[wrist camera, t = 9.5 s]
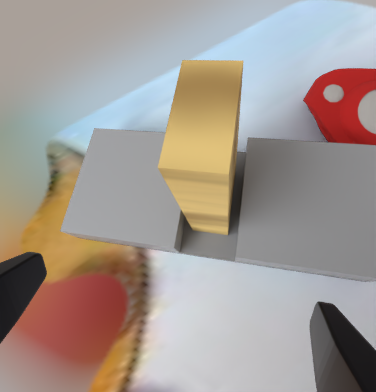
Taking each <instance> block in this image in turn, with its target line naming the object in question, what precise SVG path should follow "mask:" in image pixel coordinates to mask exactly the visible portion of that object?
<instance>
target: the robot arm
mask: <svg viewBox="0 0 376 392" xmlns="http://www.w3.org/2000/svg"><path fill="white" fill-rule="evenodd" d="M46 274H47V271H46V267H45V264H44V260H43V257H42V255H41V254H39V253H35V252H27V253H24V254H22V255H19V256H16V257H14V258H11V259H9V260H6V261H4V262H1V263H0V343H1V342H2V341H3V339H4V338H5V337H6V335H7V334H8V333H9V332H10V330H11V329H12V327H13V326H14V325H15V324H16V322H17V321H18V319H19V318H20V316H21V315H22V313H23V312H24V311H25V309H26V307H27V306H28V304H29V303H30V301H31V300H32V298H33V297H34V295H35V293H36V292H37V290H38V289H39V287H40V286H41V284H42V282H43V281H44V279H45V277H46ZM310 336H311V345H312V354H313V363H314V372H315V381H316V388H317V392H376V350H375V349H374V348H373V347H372V346H371V345H370V343H369V342H368V341H367V340H366V339H365V338H364V337H363V336H362V335H361V334H360V333H359V331H358V330H357V329H356V328H355V327H354V326H353V325H352V324H351V323H350V322H349V321H348V319H347V318H346V317H345V316H344V315H343V314H342V313H341V312H340V311H339V310H338V308H337V307H336V306H335V305H333V304H331V303H325V302H317V303H316V305H315V307H314V311H313V314H312V317H311V320H310Z"/></svg>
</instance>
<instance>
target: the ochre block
mask: <svg viewBox="0 0 376 392" xmlns="http://www.w3.org/2000/svg"><path fill="white" fill-rule="evenodd" d="M242 72H243V61H209V60H183V61H182V64H181V68H180V73H179V77H178V81H177V86H176V90H175V94H174V99H173V103H172V107H171V112H170V116H169V121H168V125H167V129H166V134H165V138H164V142H163V147H162V151H161V155H160V160H159V164H158V169H159V171H160V173H161V174H162V176H163V178H164V180H165V182H166V183H167V185H168V187H169V189H170V190H171V192H172V194H173V196H174V198H175V199H176V201H177V203H178V205H179V206H180V208H181V210H182V212H183V214H184V215H185V217H186V219H187V221H188V222H189V224H190V226H191V228H192V230H194V231H202V232H209V233H216V234H223V235H228V230H229V222H230V214H231V205H232V197H233V189H234V180H235V172H236V158H237V144H238V130H239V115H240V101H241V87H242Z"/></svg>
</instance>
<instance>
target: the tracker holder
mask: <svg viewBox="0 0 376 392" xmlns="http://www.w3.org/2000/svg"><path fill="white" fill-rule="evenodd" d="M303 101H304V102H305V103H306V104H307V106H308V108H309V110H310V111H311V113H312V114H313V116H314V118H315V120H316V122H317V124H318V126H319V129H320V130H321V132H322V134H323V135H324V137H325V138H326V139H327V141H328V142H330V143H347V144H363V145H376V69H363V68H348V69H337V70H333V71H331V72H328V73H326V74H323V75H322V76H320V77H319V78H317V79H316V80H315V82H314V83H313V85H312V87H311V88H310V90H309V91H308V93H307V95H306V96H305V98H304V100H303Z"/></svg>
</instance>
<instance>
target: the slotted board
mask: <svg viewBox="0 0 376 392" xmlns="http://www.w3.org/2000/svg"><path fill="white" fill-rule="evenodd" d="M165 134H166V133H164V132H148V131H131V130H114V129H98V128H94V131H93V134H92V137H91V140H90V143H89V146H88V149H87V152H86V155H85V158H84V161H83V164H82V167H81V170H80V173H79V176H78V179H77V182H76V185H75V188H74V191H73V194H72V197H71V200H70V203H69V206H68V209H67V212H66V215H65V218H64V221H63V224H62V227H61V230H60V231H61V232H64V233H67V234H70V235H72V236H75V237H78V238H82V239H89V240H95V241H102V242H108V243H115V244H121V245H128V246H134V247H141V248H148V249H154V250H161V251H167V252H174V253H180V254H187V255H194V256H200V257H207V258H213V259H220V260H226V261H233V262H239V263H246V264H253V265H259V266H266V267H272V268H279V269H285V270H292V271H298V272H305V273H312V274H318V275H325V276H331V277H338V278H344V279H351V280H358V281H364V282H367V281H376V145H363V144H347V143H330V142H313V141H297V140H280V139H264V138H248V142H247V149H246V152H237V158H236V172H235V180H234V189H233V197H232V205H231V214H230V222H229V230H228V235H223V234H216V233H209V232H202V231H194V230H192V228H191V226H190V224H189V222H188V221H187V219H186V217H185V215H184V214H183V212H182V210H181V208H180V206H179V205H178V203H177V201H176V199H175V198H174V196H173V194H172V192H171V190H170V189H169V187H168V185H167V183H166V182H165V180H164V178H163V176H162V174H161V173H160V171H159V169H158V164H159V160H160V155H161V151H162V147H163V142H164V138H165Z"/></svg>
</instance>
